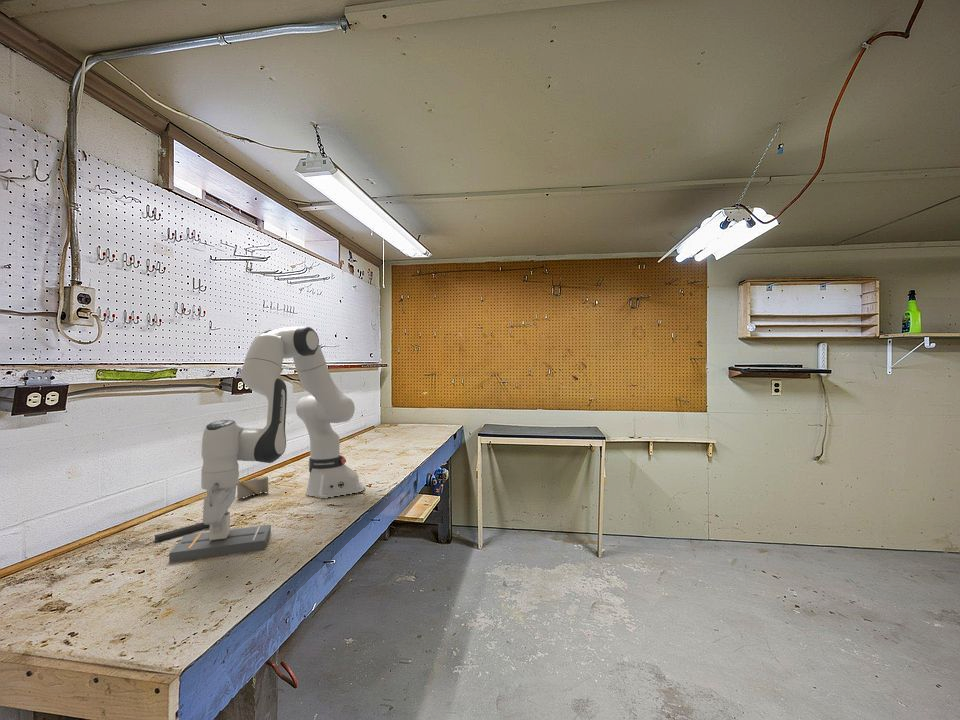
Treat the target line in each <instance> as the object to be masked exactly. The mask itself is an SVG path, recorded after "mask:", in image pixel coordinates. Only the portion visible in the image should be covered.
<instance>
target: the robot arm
mask: <svg viewBox="0 0 960 720" xmlns="http://www.w3.org/2000/svg"><path fill="white" fill-rule="evenodd" d="M284 359H285V360H286V359H292V361H293V364H294V367H295V370H296V373H297V376H298V379H299V382H300V385H301V387H302V388H303V390H305V391H306V392H308V394H310V395H305V396H302V397H301V398H299V400H298V401H297V403H296V407H295V411H296V415H297V417H298V418H299V419H300V420H302V422H303V423H304V425H305V428H306V430H307V433H308V437H309V446H310V447H309V449H310V450H309V451H310V453H309V454H310V457H309V459H308V472H309V477H308V483H307V488H306V491H305V495H306V494H307V495H306V496H308V495H309V496H308V497H311V496H315V497H314V498H319V497H320V498H319V499H322V498H325V499H329V498H328V497H331V498H335V497H334V496H338V497H341V496H340V495H344V496H347V495H346V494H350V495H353V494H352V493H357V492H361V491H363V490H364V491H365V489H364V487H365V484H364V483H363V482H360V479H359V476H358V473H357V471H356V470H354V469H352V468H351V467H349V466H347V465H346V463H347V459H346V458H345V457H344V455H340V451H341V450H340V447H341V446H340V443H341V442H340V436H339V434H338V433H337V432H336V431H335V430H334V429H333V428H332V425H331V424H339V423H345V422H349V421H351V420H352V418H353V416H354V415H355V410H356V408H355V407H356V406H355V403H354V401H353V400H352V399H351V398H349V397H348V396H347V395H345V393H344V392H342V391H341V389H339V387H338V386H337V384H336V383H335V382H334V380H333V378H332V376H331V373H330V371H329V370H330V369H329V368H328V364H327V362H326V359H325V356H324V353H323V351H322V349H321V348H320V339H319V335H318V333H317V332H316V330H314V329H313V328H312V327H309V326H303V325H301V326H286V327H282V328H276V329H268V330H265V331H263V332H260V334H257V335H256V336H255V337H254V339H252V342H251V345H249V348H248V350H247V352H246V356H245V358H244V361H243V364H242V368H241V372H240V374H241V376H240V377H241V380H242V382H243V384H244V385H245V386H246V387H247V388H248V389H250V390H251V391H253V392H254V393H258V394H259V395H262V396H264V397H266V399H267V402H268V405H267V415H266V416H267V417H266V425H265V427H263V428H246V427H243V426H239V425H238V424H237V422H236V421H235V420H234V419H233V420H232V419H222V420H215V421H213V422H210V423H209V424H207V425H205V427H204V430H203V434H202V439H201V458H202V467H201V470H200V471H201V474H200V475H201V479H200V482H201V483H200V484H201V486H200V488H201V489H202V490H206V494H205V495H204V498H203V499H204V500H203V510H202V522H203V523H204V524H205V525H208V524H212V526H213V533H214V534H217V533H220V532H221V530H222V525H221V520H222V517H223V516H224V514H225V513H226V512H229V509H230V508H231V506H232V504H233V503H234V501H235V498H236V495H237V492H236V491H237V484H238V483H239V482H238V481H239V477H240V471H239V465H240V464H239V463H238V462H239V461H242V462H259V463H267V464H272V463H274V462H275V461H277V460H278V459H280V457H282V455H283V454H285V452H286V447H287V437H286V419H287V416H286V415H287V403H288V401H287V400H288V391H287V385H286V383H285V381H284V380H282V378H281V370H282V365H283V361H284ZM364 491H363V492H364ZM361 493H362V492H361ZM357 494H358V493H357Z"/></svg>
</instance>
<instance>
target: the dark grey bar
mask: <svg viewBox="0 0 960 720" xmlns="http://www.w3.org/2000/svg"><path fill="white" fill-rule="evenodd" d="M203 529H204V530H207V529H210V524H208V525H205V524H204V523H203V521H202V522H197V523H195V524H191V525H187V526H184V527H181V528H176V529H173V530H170V531H167V532H162V533H158V534H154V542H156V543H160V542H164V541H167V540H171V539H174V538H178V537H181V536H182V537H183V536H184V535H185V534H186V535H189V534H194V533H196V532H199V531H203Z"/></svg>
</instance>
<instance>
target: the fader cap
mask: <svg viewBox="0 0 960 720" xmlns="http://www.w3.org/2000/svg"><path fill="white" fill-rule="evenodd" d="M230 522H231V512H230V511H228V512H226V513H225V514H224V516H223V517H222V520H221V525H222V530H221V532H220V533H217V534H214V533H213V526H212V524H210V528H209V532H210V540H216V539H224V538H227V536H228V535H229V533H230V530H231V523H230Z"/></svg>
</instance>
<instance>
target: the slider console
mask: <svg viewBox="0 0 960 720" xmlns="http://www.w3.org/2000/svg"><path fill="white" fill-rule="evenodd" d="M271 528H272V525H271V524H265V525H258V526H257V525H256V526H250V527H249V526H248V527H240V528H233V529H231V528H230V533H229V535H228V536H227V538H224V539H216V540H210V531H209V532H200V533H199V532H198V533H189V534H186V535H183V536H182V537H181V538H180V540H179V541H178V542H177V543H176V545H175V546H174V547H173V548H172V549H171V551H170V552H169V553H168V556H169V557H168V558H169V560H168V563H176V562H183V561H184V562H185V561H191V560H198V559H205V558H213V557H219V556H227V555H228V556H229V555H236V554H241V553H249V552H257V550H258V551H265V550H266V547H267V544H268V542H269V539H270V537H271V534H270V533H272V532H271V531H272V529H271ZM264 549H265V550H264Z"/></svg>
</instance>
